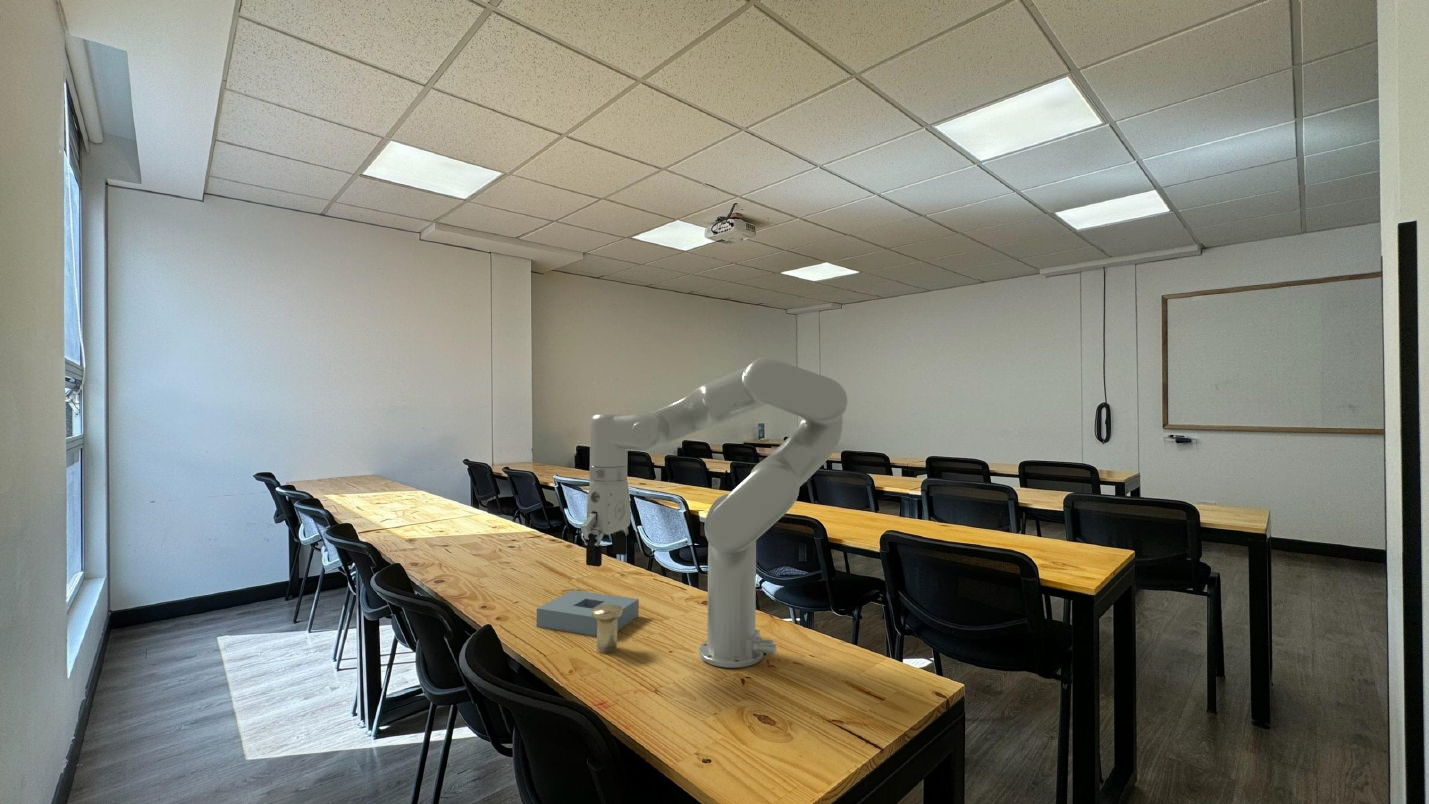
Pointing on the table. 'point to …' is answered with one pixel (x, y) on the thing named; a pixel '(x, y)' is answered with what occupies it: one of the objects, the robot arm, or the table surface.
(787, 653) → the table surface
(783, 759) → the table surface
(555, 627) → the jig
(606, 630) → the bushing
